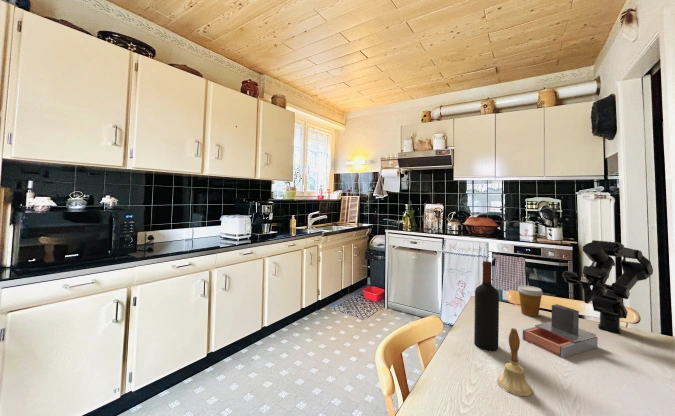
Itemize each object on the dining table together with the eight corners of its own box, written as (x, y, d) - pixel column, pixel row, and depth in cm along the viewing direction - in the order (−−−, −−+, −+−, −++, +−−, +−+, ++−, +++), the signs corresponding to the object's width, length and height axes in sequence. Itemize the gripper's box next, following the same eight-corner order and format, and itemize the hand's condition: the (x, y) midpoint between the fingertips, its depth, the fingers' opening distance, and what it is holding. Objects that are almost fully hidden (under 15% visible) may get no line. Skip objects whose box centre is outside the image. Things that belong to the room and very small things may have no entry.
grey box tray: (555, 330, 108) (555, 321, 108) (597, 347, 95) (597, 337, 95) (522, 339, 101) (522, 329, 101) (562, 358, 89) (563, 347, 89)
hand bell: (519, 400, 69) (520, 339, 69) (490, 381, 77) (490, 325, 77) (539, 391, 73) (540, 332, 72) (509, 373, 80) (510, 320, 80)
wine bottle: (475, 348, 94) (476, 263, 94) (473, 338, 101) (474, 259, 101) (500, 353, 91) (501, 265, 91) (496, 342, 98) (497, 260, 98)
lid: (556, 321, 107) (556, 300, 107) (596, 336, 96) (596, 312, 96) (535, 326, 103) (535, 304, 103) (574, 342, 91) (574, 317, 91)
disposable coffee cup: (548, 318, 119) (548, 291, 119) (526, 318, 119) (526, 291, 119) (532, 310, 129) (533, 285, 129) (512, 309, 129) (513, 285, 129)
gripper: (565, 251, 111) (550, 284, 107) (630, 265, 95) (615, 303, 91) (573, 265, 116) (558, 296, 112) (635, 280, 100) (621, 317, 96)
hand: (585, 302), depth 103 cm, fingers closed
